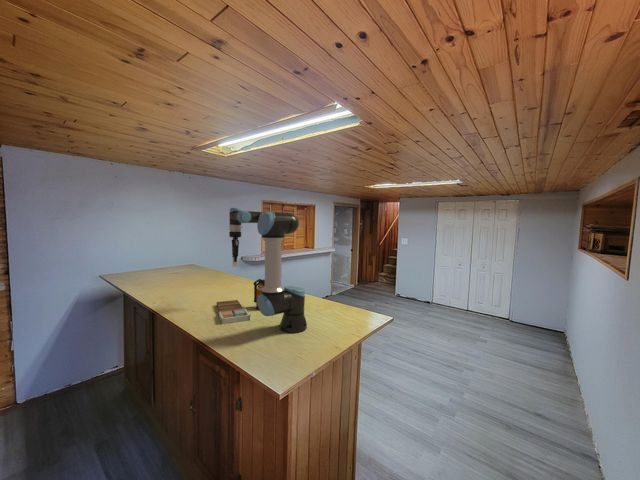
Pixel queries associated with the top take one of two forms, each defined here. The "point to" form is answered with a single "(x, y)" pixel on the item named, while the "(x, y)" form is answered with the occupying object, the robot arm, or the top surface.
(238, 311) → the tile
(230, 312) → the tile
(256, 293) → the canister
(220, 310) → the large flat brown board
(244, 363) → the top surface
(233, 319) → the tray
